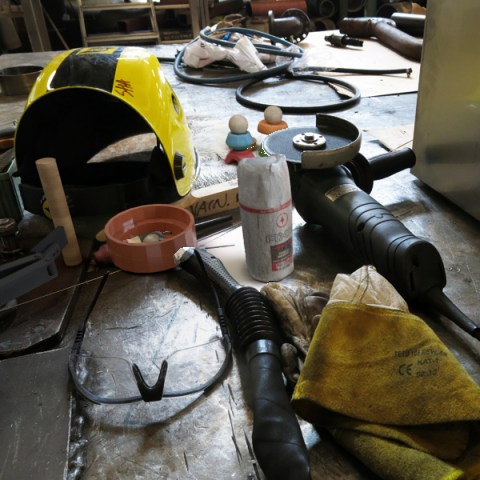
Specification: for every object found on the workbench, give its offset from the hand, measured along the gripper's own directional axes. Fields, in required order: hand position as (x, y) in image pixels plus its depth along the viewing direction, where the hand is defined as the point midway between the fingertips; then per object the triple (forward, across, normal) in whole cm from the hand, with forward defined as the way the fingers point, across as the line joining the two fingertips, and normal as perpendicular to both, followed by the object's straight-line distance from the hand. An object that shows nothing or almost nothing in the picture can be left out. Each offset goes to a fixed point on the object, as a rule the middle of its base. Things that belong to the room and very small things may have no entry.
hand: (15, 231), depth 66 cm
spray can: (+12, +33, -12) cm, 37 cm away
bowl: (+14, +12, -12) cm, 22 cm away
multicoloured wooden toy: (+63, +19, -12) cm, 66 cm away
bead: (+14, +12, -9) cm, 21 cm away
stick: (+10, 0, -12) cm, 15 cm away
